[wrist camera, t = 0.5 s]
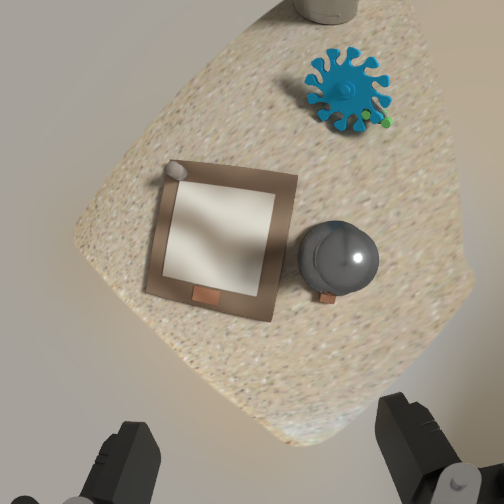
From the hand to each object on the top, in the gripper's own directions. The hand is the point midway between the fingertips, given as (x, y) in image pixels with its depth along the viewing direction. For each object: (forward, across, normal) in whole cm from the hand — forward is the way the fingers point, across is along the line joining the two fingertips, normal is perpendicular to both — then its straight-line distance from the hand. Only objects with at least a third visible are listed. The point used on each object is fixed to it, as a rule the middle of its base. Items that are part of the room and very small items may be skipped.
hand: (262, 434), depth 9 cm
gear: (+29, -13, -15) cm, 35 cm away
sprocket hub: (+24, -9, +2) cm, 26 cm away
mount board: (+27, +4, -2) cm, 27 cm away
